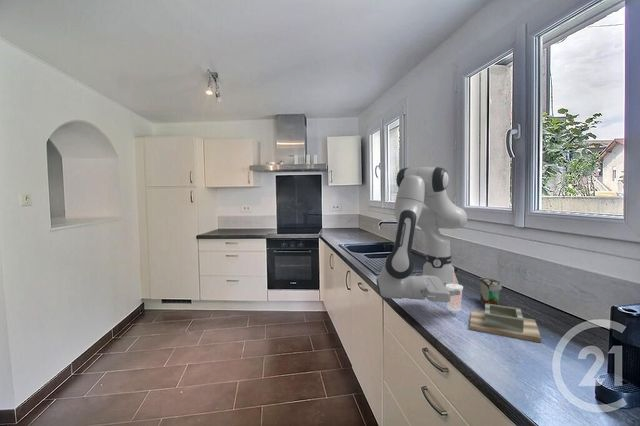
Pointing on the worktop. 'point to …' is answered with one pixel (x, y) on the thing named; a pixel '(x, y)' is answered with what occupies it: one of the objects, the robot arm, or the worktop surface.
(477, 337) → the worktop surface
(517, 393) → the worktop surface
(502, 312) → the collar stand
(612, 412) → the worktop surface
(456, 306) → the beverage cup
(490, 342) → the worktop surface
